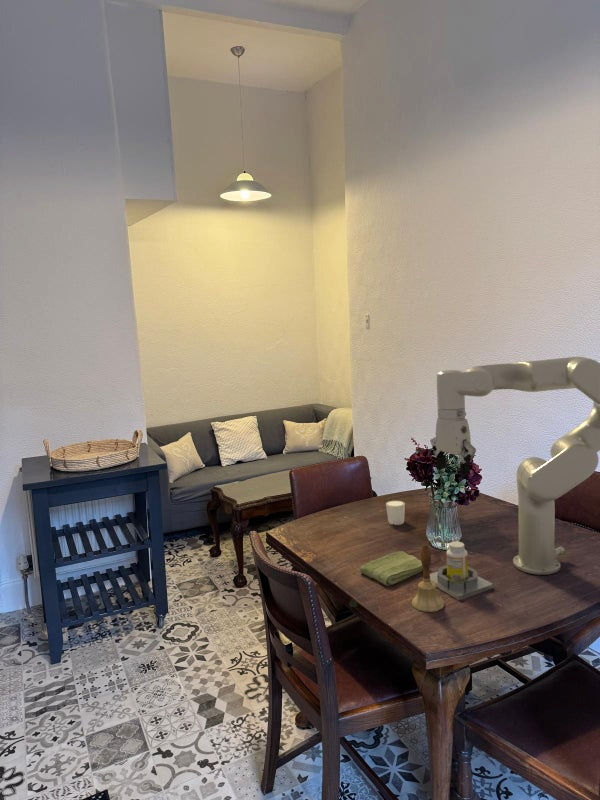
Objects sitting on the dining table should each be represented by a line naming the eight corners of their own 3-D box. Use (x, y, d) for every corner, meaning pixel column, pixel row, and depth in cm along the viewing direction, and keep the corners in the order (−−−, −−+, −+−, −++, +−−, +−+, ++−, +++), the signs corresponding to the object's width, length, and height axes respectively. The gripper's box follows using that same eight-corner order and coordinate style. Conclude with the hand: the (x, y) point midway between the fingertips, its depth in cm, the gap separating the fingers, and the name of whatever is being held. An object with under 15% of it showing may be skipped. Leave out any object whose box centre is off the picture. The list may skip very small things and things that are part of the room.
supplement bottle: (460, 573, 159) (459, 538, 157) (472, 581, 154) (471, 545, 152) (443, 577, 157) (442, 542, 156) (454, 586, 152) (453, 549, 150)
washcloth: (432, 570, 166) (431, 560, 165) (388, 589, 156) (387, 578, 155) (399, 556, 176) (399, 546, 176) (356, 573, 166) (356, 563, 166)
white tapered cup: (382, 521, 206) (382, 502, 205) (398, 517, 209) (397, 499, 208) (393, 526, 200) (392, 507, 199) (409, 522, 203) (409, 504, 202)
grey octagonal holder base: (456, 569, 164) (456, 558, 164) (493, 588, 152) (493, 576, 152) (423, 579, 159) (423, 569, 159) (458, 600, 147) (458, 588, 146)
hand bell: (406, 607, 145) (404, 548, 143) (419, 593, 152) (416, 536, 149) (437, 615, 140) (435, 554, 138) (449, 600, 147) (447, 541, 145)
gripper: (484, 415, 155) (485, 476, 158) (440, 408, 170) (442, 464, 173) (463, 419, 152) (465, 481, 154) (420, 412, 167) (422, 468, 169)
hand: (452, 472), depth 164 cm, fingers open, 9 cm apart
